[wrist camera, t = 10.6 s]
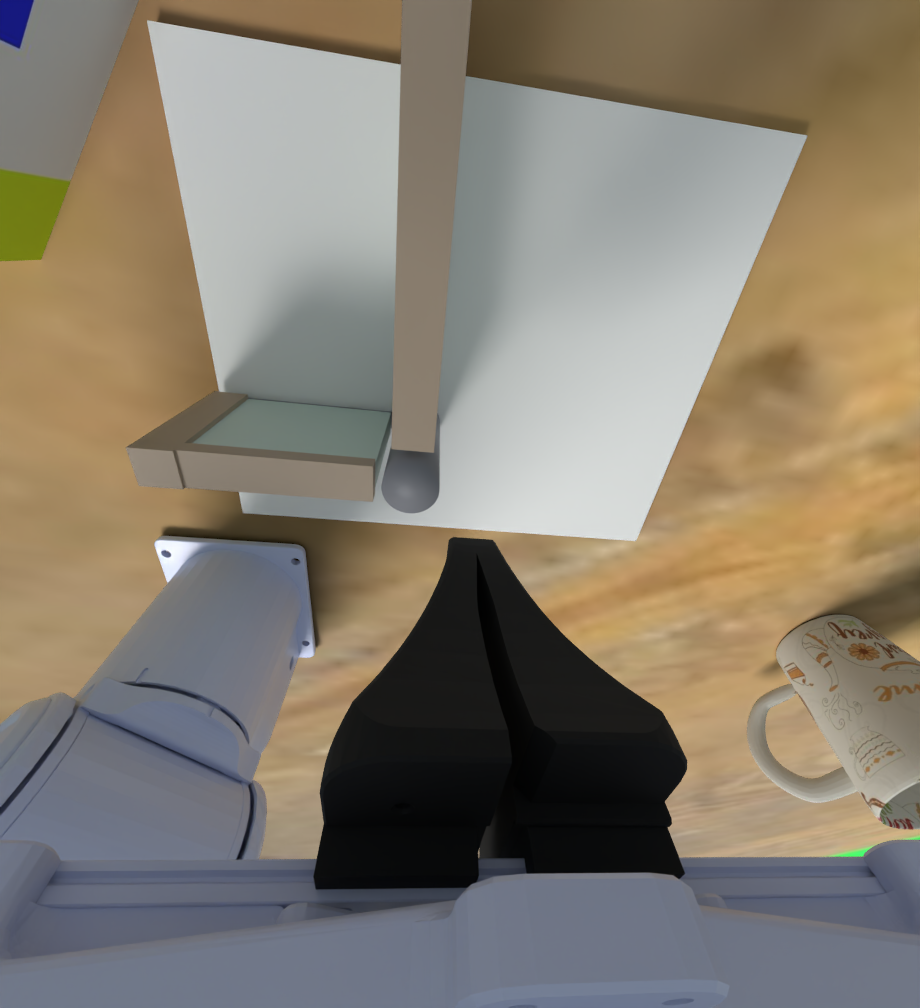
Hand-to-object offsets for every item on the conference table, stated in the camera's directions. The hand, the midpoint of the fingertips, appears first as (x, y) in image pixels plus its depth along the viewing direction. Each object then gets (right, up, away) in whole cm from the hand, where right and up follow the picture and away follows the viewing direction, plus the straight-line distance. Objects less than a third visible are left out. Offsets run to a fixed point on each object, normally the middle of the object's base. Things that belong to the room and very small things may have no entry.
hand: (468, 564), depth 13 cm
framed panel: (-1, +12, +3) cm, 12 cm away
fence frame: (-6, +6, +7) cm, 11 cm away
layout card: (0, +8, +6) cm, 10 cm away
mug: (+25, -10, +19) cm, 32 cm away
